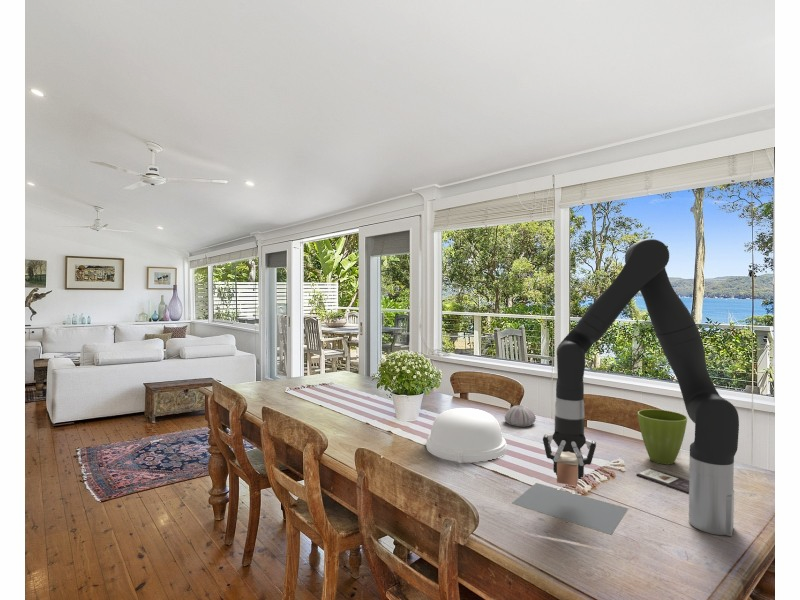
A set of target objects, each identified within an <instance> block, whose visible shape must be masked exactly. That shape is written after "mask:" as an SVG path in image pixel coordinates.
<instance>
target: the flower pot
mask: <svg viewBox="0 0 800 600" xmlns="http://www.w3.org/2000/svg"><path fill="white" fill-rule="evenodd" d="M637 419H638V424H639V429H640V433H641V438H642V440H643V441H642V442H643V444H644V447H645V449H646V452H647V455H648V458H649V460H650V461H652V462H653V463H657V464H660V465H661V464H662V465H673V464H674V463H675V462H676V459H677V458H678V455H679V453H680V450H681V447H682V444H683V441H684V437H685V433H686V428H687V422H688V417H687V416H686V415H684V414H683V413H680V412H676V411H672V410H665V409H653V408H652V409H641V410H639V411H637Z"/></svg>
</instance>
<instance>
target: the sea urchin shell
mask: <svg viewBox="0 0 800 600" xmlns="http://www.w3.org/2000/svg"><path fill="white" fill-rule="evenodd" d="M536 419H537V417H536V415H535V413H534V412H533V411H532V410H531V408H529V407H527V406H525V405H522V404H521V405H520V404H519V405H513V406H511V407H510V408H509V409H508V410H507V411H506V412H505V414H504V421H505V422H506V423H507V424H509V425H512V426H514V427H523V428H524V427H530V426H532V425H533V424H535V422H536V421H537V420H536Z"/></svg>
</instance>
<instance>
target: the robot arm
mask: <svg viewBox="0 0 800 600" xmlns="http://www.w3.org/2000/svg"><path fill="white" fill-rule="evenodd" d="M669 261H670V251H669V249H668V246H667V245H666V244H665V243H664V242H663V241H660V240H659V239H656V238H648V239H647V238H646V239H645V238H644V239H642V240H639V241H637V242H634V243H633V244H631V245H630V246H629V247H628V248H627V250H626V252H625V255H624V265H623V267H622V269H621V270H620V272H619V274H618V275H617V277H616V278H615V279H614V280H613V282H612V283H611V284H609V286H608V287H607V288H606V289H605V290H604V292H603V291H602V294H600V295H599V297H598V298H596V299H595V301H594V302H593V303H592V304H591V305H590V306H589V307H588V309H587V310H586V311H585V312H584V314H583V315H582V316H581V318H580V319H579V320H578V321H577V323H576V325H575V326H574V328H573V329H571V331H570V332H568V334H567V335H566V336H565V337H564V338H563V339H562V340H561V342H560V343H559V344H558V346H557V348H556V362H557V363H556V367H557V368H556V369H557V379H556V386H555V403H554V432H553V434H552V435H548V434H543V437H542V441H543V446H544V451H545V455H546V458H547V459H549V460H552V461H553V473H555V475H556V476H557V462H558V459H559V457H560V455H561V453H562V451H563V452H571V453H575V455H576V458H577V460H578V462H579V464H578V480H582V478H584V476H585V475H584V474H585V465H591V464H592V462H593V458H594V454H595V451H596V447H597V441H595V440H589V439H587V438H586V437H585V415H586V412H585V411H586V410H585V401H584V399H585V398H584V395H585V394H584V393H585V392H584V387H585V386H584V377H585V375H584V374H585V364H586V354H587V352H588V351H589V350H590V349H591V347H592V346H594V344H595V343H596V342H598V341H599V340H601V338H602V337H603V336H604V335H605V333H606V332H607V331H608V330H609V329H610V328H611V326H612V325H613V324H614V322H615V321H616V320H617V318H619V316H620V315H621V314H622V312H623V311H624V309H625V308H626V307H627V306H628V304H629V303H630V302H631V300H633V298H634V297H635V296H636V295H637V294H638V293H639V292H640V293H641V295H642V298H643V301H644V304H645V307H646V311H647V314H648V316H649V320H650V322H651V325H652V328H653V329H654V333H655V335H656V338H657V340H658V343H659V345H660V347H661V349H662V351H663V353H664V356H665V357H666V359H667V362H668V364H669V366H670V368H671V371H673V373H674V374H673V375H675V378H676V381H677V383H678V385H679V388H680V391H681V392H680V393H681V397H682V398H683V403H684V406H685V410H686V413H687V415H688V417H689V419H690V420H691V421H692V422H693V424H694V441H693V442H691V443H690V445H689V464H688V465H689V467H688V468H689V469H688V471H689V474H688V475H689V477H688V480H689V494H688V522H689V524H690V525H691V526H693V527H694V528H695V529H698V530H700V531H702V532H705V533H708V534H711V535H717V536H727V537H732V536H733V530H734V525H735V524H734V521H735V520H734V519H735V514H734V512H735V490H734V470H735V455H736V454H737V451H738V446H739V433H740V432H739V430H740V419H739V412H738V410H737V409H736V406H735V405H733V403H731V402H730V401H729V400H727V399H725V398H724V397H722V396H721V395H720V393H719V392H718V390H717V389H716V387H715V384H714V383H713V381H712V379H711V377H710V375H709V372H708V369H707V368H708V367H707V366H706V365H707V364H706V355H705V353H706V352H705V347H704V342H703V339H702V336H701V334H700V331H699V329H698V326H697V324H696V322H695V321H696V320H695V319H694V317H693V316H692V314H691V312H690V311H689V309H688V307H687V306H686V305H685V304H684V302H683V300H682V299H681V298H680V296H679V295H678V294H677V292H676V291H675V289H674V288H673V286H672V283H671V282H670V279H669V276H668V273H667V270H666V267H667V265H668V263H669ZM552 440H553V441H554V443H555V444H556V446H557V450H556V452H555V453H553V452H552V447H551V444H552V442H553V441H552ZM585 445H586V448H587V450H588V452H587V456H586V457H585V458H584V456H583V453H582V450H581V449H582V447H584V446H585Z"/></svg>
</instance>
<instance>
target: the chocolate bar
mask: <svg viewBox="0 0 800 600" xmlns="http://www.w3.org/2000/svg"><path fill="white" fill-rule="evenodd" d="M636 477H638V478H642V479H644V480H647V481H651V482H653V483H656V484H658V485H662V486H664V487H667V488H671V489H672V490H676V491H679V492H681V493H685V494H688V495H689V479H688V478H687V479H686V478H683V477H681V476H677V475H674V474H671V473H667V472H665V471H662V470H659V469H655V468H651V467H650V468H648V469H646V470H643V471H641V472H639V473H637V474H636Z"/></svg>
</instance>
